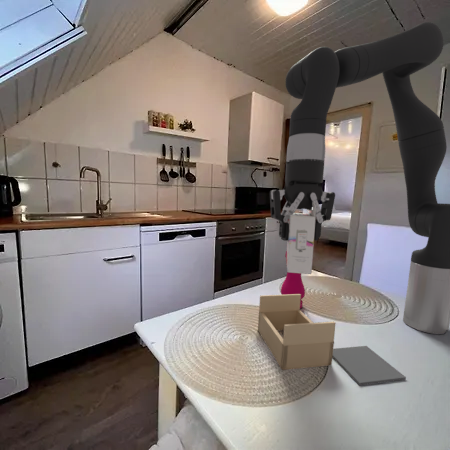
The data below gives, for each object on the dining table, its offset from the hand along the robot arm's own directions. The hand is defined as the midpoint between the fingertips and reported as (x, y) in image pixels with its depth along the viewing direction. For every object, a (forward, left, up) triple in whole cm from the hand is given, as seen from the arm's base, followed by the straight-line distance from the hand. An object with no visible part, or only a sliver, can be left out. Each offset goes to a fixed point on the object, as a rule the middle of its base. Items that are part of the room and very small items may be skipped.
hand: (299, 239), depth 54 cm
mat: (-12, +8, -24) cm, 28 cm away
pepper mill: (-10, -20, -24) cm, 33 cm away
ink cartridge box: (0, 0, -6) cm, 6 cm away
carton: (0, 0, -24) cm, 24 cm away
